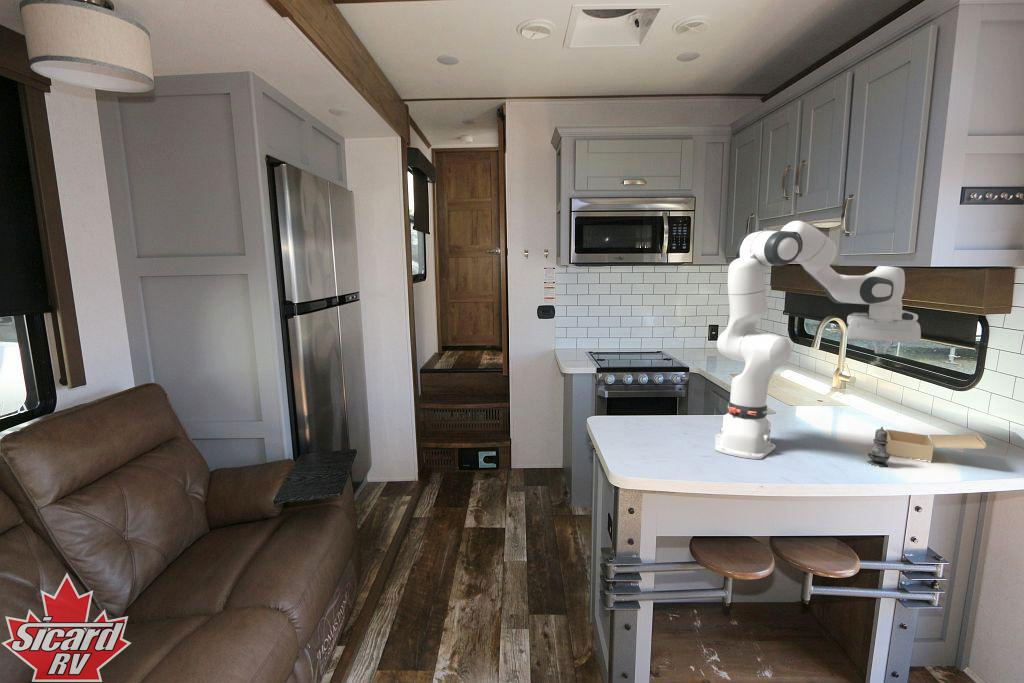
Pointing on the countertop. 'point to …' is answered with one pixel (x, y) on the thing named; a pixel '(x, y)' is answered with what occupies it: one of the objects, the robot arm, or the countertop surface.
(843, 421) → the countertop surface
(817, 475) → the countertop surface
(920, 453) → the mailer box
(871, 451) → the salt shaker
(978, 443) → the lid
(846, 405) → the countertop surface
